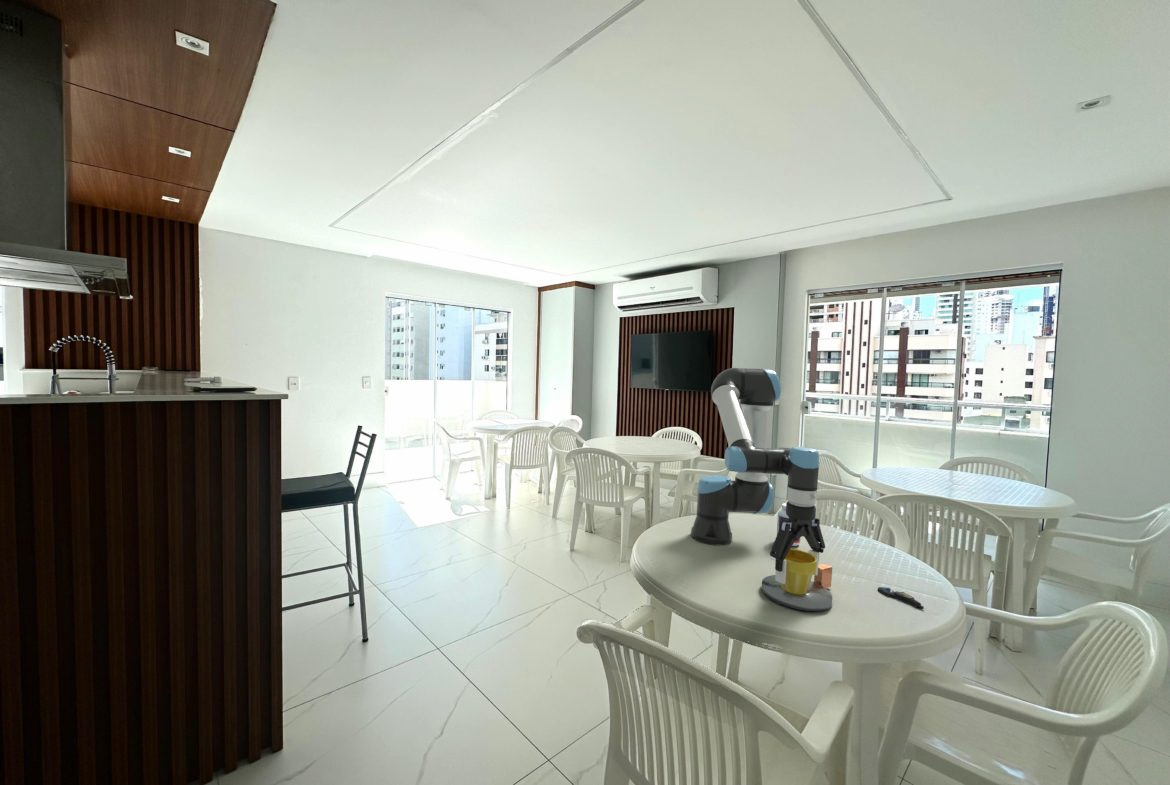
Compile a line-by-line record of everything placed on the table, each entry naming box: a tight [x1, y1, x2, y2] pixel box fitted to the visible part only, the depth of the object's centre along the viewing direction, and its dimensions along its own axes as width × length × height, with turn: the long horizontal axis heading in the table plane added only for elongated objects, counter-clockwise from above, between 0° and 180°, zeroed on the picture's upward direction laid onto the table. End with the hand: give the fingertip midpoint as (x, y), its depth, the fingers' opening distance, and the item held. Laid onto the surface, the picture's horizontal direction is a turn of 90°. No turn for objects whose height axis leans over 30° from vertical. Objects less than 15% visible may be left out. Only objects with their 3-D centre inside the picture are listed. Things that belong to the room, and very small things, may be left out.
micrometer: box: [877, 586, 925, 610], centre depth 127 cm, size 12×2×5 cm
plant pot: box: [781, 548, 817, 595], centre depth 126 cm, size 10×10×10 cm
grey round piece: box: [761, 563, 833, 612], centre depth 127 cm, size 18×23×6 cm
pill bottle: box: [776, 502, 801, 547], centre depth 167 cm, size 8×8×14 cm
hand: (796, 577), depth 126 cm, fingers open, 13 cm apart
